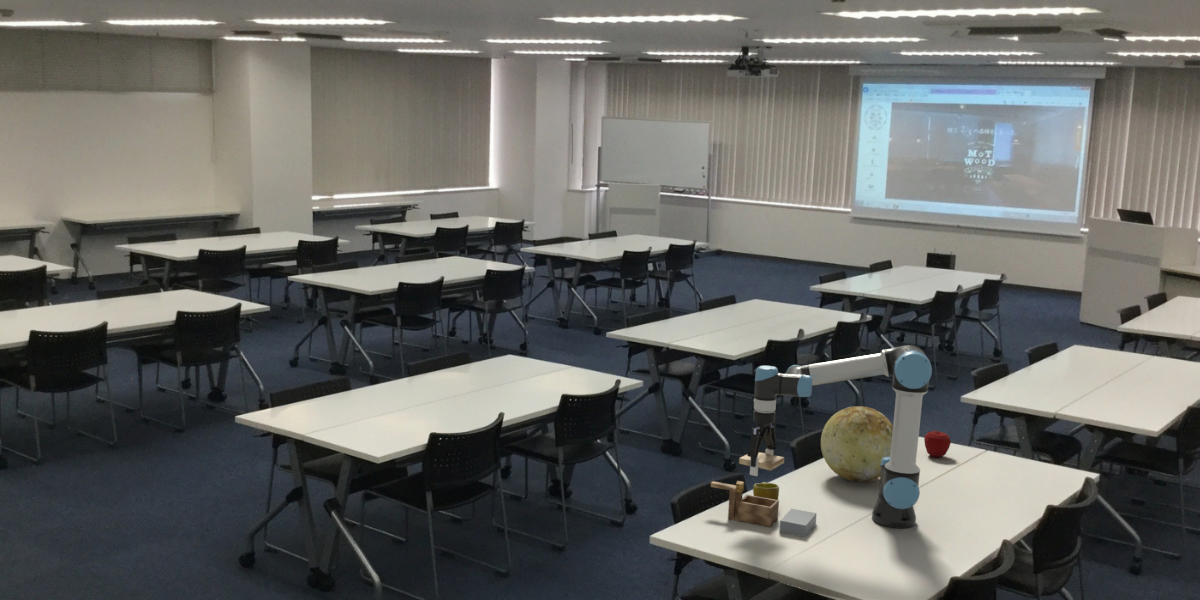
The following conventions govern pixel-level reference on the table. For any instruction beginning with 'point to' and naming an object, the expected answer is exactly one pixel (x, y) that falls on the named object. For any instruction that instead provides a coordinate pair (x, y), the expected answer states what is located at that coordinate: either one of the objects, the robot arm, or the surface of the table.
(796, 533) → the block
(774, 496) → the mug
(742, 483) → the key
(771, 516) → the toolbox
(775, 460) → the lid
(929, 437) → the apple
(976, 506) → the table surface
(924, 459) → the table surface
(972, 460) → the table surface
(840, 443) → the speckled ball
